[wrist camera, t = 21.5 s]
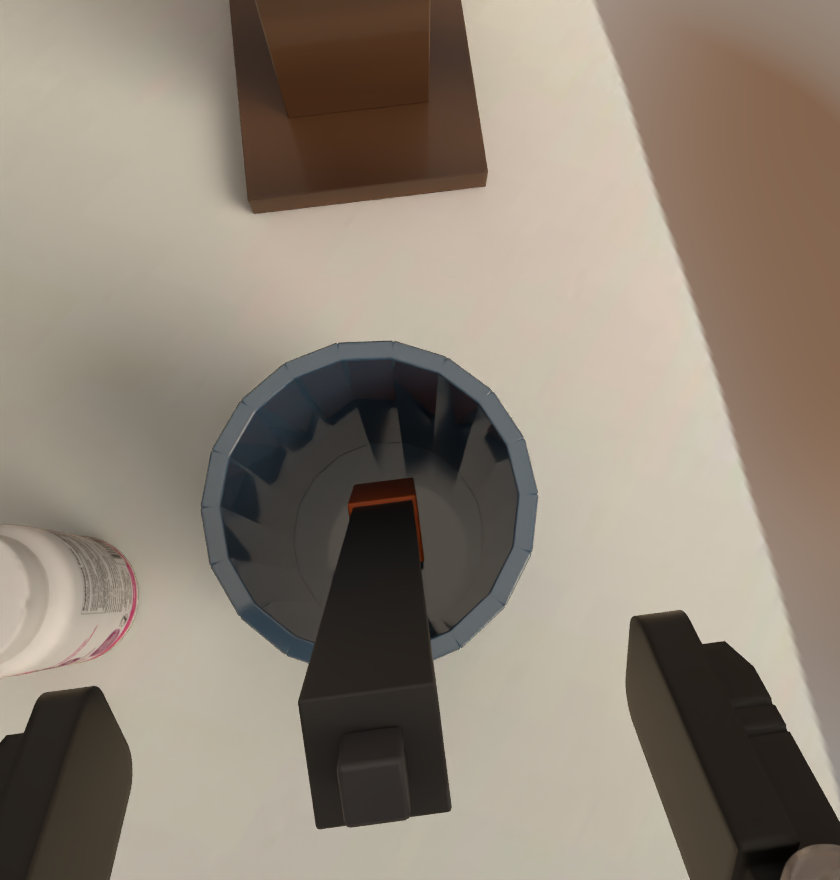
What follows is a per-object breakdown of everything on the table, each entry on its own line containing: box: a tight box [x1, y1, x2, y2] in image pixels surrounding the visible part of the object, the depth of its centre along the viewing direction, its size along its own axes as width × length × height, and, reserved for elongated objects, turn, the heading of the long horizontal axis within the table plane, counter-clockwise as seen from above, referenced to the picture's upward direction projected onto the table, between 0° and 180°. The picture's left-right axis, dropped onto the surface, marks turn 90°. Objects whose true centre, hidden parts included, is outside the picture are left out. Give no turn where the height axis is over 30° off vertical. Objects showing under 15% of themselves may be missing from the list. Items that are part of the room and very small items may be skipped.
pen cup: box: [201, 341, 538, 663], centre depth 25 cm, size 8×8×12 cm
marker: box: [298, 477, 452, 829], centre depth 20 cm, size 20×2×2 cm
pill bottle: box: [0, 525, 138, 677], centre depth 27 cm, size 5×5×8 cm
